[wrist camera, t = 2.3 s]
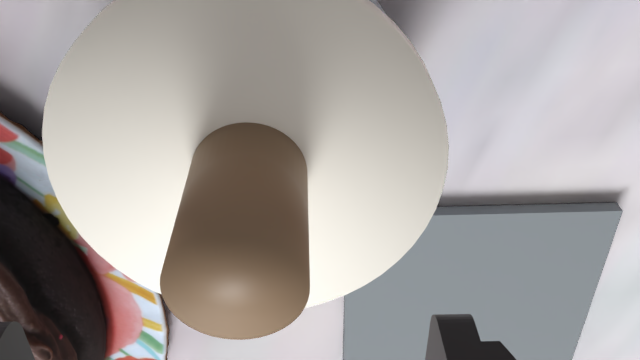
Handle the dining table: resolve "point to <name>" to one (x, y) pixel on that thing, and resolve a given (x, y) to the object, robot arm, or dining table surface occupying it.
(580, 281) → the mat
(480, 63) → the dining table surface
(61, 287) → the chocolate cake
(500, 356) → the robot arm
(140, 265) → the cover
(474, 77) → the dining table surface
